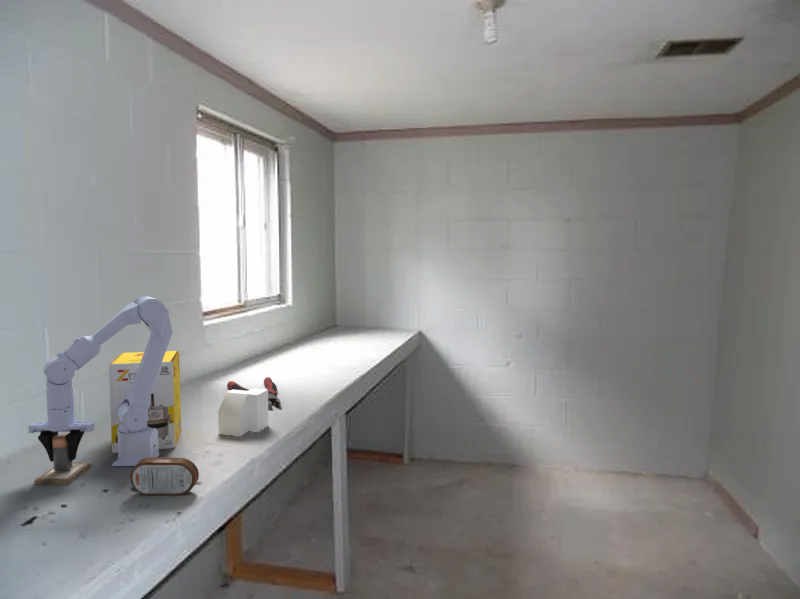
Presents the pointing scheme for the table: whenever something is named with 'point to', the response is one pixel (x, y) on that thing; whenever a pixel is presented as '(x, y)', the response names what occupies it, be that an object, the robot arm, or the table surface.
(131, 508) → the table surface
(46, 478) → the brown picture frame
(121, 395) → the packaging box
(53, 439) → the gray and tan capsule
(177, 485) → the tin
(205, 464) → the table surface
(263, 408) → the corner bracket
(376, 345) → the table surface
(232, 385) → the pliers
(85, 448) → the table surface
